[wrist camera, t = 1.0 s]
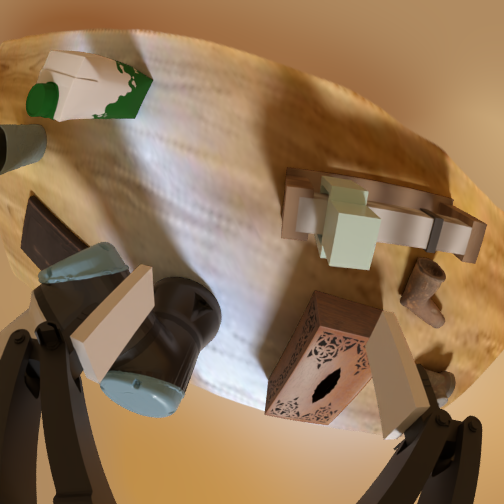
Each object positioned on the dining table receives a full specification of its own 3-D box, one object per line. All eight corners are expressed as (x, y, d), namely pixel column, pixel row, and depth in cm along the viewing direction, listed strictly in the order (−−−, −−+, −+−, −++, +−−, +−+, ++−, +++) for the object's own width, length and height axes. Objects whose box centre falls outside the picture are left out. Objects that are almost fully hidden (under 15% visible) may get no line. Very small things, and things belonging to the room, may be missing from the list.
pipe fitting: (452, 366, 50) (461, 396, 41) (432, 385, 54) (438, 414, 45) (424, 355, 51) (432, 388, 42) (404, 375, 54) (408, 407, 46)
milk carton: (101, 109, 37) (13, 111, 18) (122, 63, 33) (38, 42, 15) (137, 125, 38) (48, 129, 19) (161, 76, 34) (79, 48, 16)
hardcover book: (82, 300, 55) (77, 305, 53) (26, 244, 52) (20, 248, 49) (99, 254, 49) (92, 258, 47) (35, 194, 45) (28, 197, 43)
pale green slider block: (313, 233, 36) (325, 280, 25) (321, 175, 33) (341, 195, 21) (341, 236, 36) (365, 284, 24) (351, 180, 33) (384, 202, 21)
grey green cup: (21, 153, 41) (-17, 163, 30) (33, 113, 37) (-7, 117, 26) (41, 172, 43) (1, 185, 32) (55, 130, 39) (11, 136, 28)
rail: (281, 219, 41) (280, 247, 31) (287, 167, 38) (287, 177, 28) (440, 241, 39) (473, 270, 29) (451, 198, 36) (489, 218, 25)
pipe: (435, 341, 42) (473, 311, 37) (390, 304, 40) (435, 265, 34) (428, 319, 47) (462, 290, 42) (384, 281, 45) (422, 245, 40)
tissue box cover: (314, 289, 46) (320, 325, 37) (382, 309, 46) (398, 344, 37) (268, 379, 56) (264, 414, 47) (325, 391, 57) (327, 425, 47)
